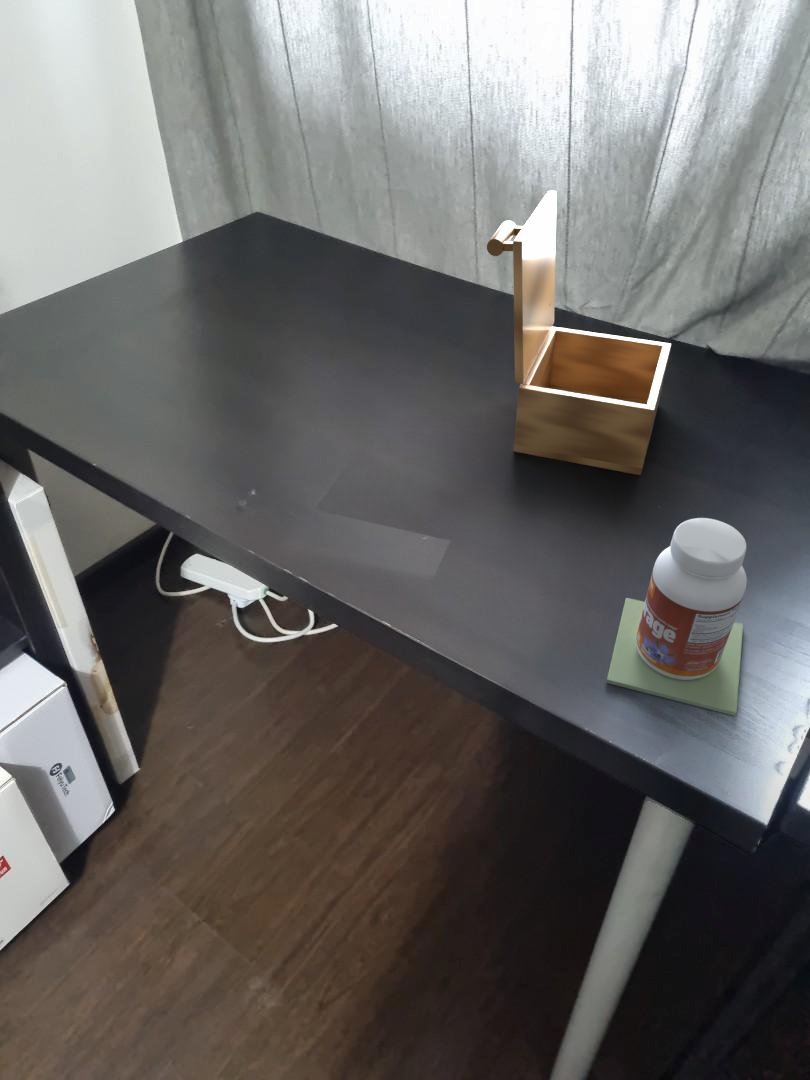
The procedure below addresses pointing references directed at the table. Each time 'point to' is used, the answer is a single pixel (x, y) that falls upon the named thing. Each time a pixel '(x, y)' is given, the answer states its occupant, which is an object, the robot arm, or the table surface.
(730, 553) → the pill bottle
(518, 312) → the chest lid
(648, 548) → the table surface
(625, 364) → the chest
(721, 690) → the mat
